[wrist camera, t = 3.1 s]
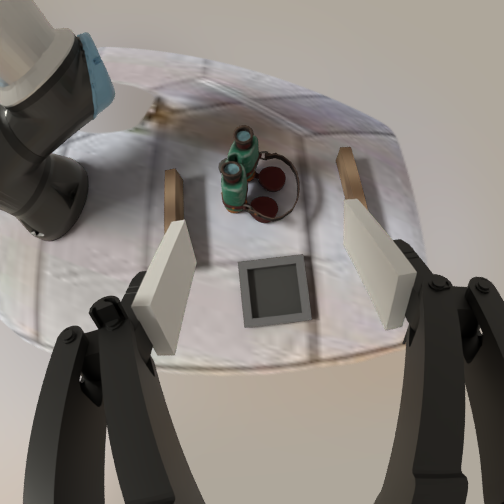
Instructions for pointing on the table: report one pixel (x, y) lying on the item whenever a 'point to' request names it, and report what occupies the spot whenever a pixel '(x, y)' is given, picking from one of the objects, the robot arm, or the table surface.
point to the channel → (344, 164)
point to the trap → (274, 291)
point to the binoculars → (251, 177)
